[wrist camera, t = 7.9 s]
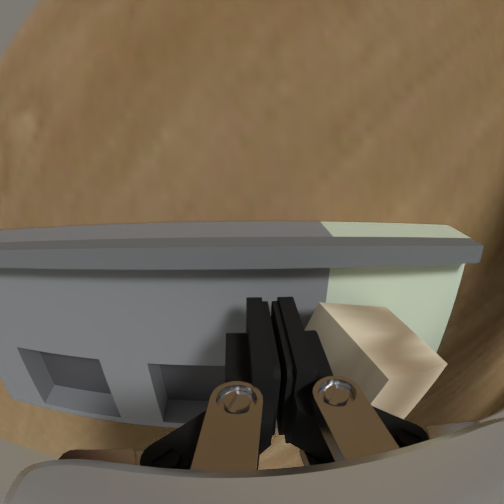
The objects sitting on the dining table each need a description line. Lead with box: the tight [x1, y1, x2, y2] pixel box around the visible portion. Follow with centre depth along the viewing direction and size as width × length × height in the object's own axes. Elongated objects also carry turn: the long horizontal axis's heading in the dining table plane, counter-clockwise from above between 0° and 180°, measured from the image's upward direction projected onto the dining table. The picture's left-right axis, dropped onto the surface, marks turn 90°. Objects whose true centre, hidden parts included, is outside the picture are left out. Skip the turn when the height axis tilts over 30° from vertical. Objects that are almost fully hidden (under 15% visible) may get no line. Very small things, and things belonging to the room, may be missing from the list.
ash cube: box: [304, 302, 447, 419], centre depth 11 cm, size 4×4×4 cm
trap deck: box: [0, 221, 484, 428], centre depth 14 cm, size 26×11×3 cm, turn 89°
